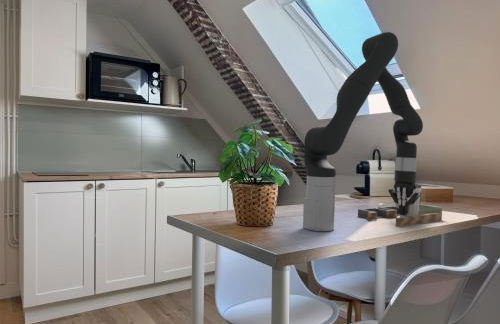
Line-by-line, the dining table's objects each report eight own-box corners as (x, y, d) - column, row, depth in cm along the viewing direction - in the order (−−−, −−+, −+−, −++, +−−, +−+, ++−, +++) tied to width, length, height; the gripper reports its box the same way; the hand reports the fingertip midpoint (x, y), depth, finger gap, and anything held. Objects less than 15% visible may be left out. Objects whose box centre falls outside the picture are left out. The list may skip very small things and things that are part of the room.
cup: (423, 221, 137) (425, 189, 137) (402, 220, 137) (403, 188, 137) (414, 217, 145) (415, 187, 145) (394, 216, 145) (395, 186, 145)
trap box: (398, 226, 126) (399, 212, 126) (353, 216, 143) (353, 204, 143) (441, 220, 140) (442, 207, 140) (395, 212, 157) (395, 200, 157)
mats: (374, 218, 139) (374, 218, 139) (362, 216, 144) (362, 216, 144) (404, 215, 149) (404, 214, 149) (392, 213, 154) (392, 212, 154)
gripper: (384, 168, 141) (382, 213, 141) (415, 170, 130) (413, 218, 130) (396, 169, 145) (394, 212, 145) (427, 171, 134) (425, 217, 134)
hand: (403, 215), depth 138 cm, fingers closed
